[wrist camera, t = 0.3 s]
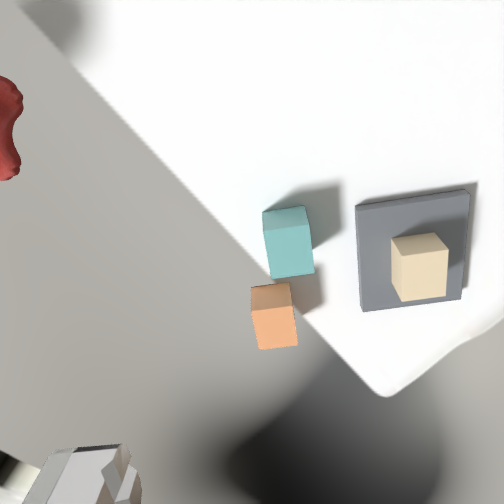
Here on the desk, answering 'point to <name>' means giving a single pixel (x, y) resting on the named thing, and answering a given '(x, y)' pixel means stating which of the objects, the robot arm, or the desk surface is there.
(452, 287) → the plate
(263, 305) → the terracotta brick
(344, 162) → the desk surface
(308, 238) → the teal brick
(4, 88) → the stacking bear
